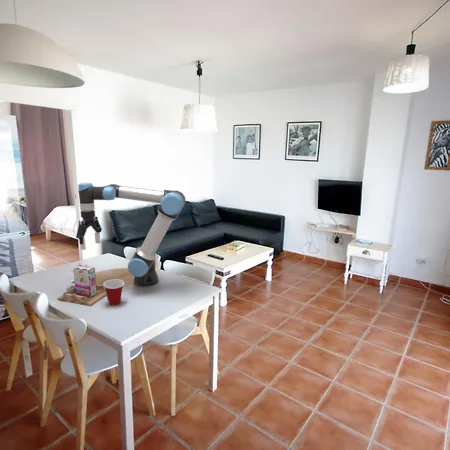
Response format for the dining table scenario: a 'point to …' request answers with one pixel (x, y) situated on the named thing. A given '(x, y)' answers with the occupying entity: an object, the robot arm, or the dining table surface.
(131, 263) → the robot arm
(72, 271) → the water lily
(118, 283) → the plastic cup
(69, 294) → the board
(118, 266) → the dining table surface
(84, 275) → the candy bar box
